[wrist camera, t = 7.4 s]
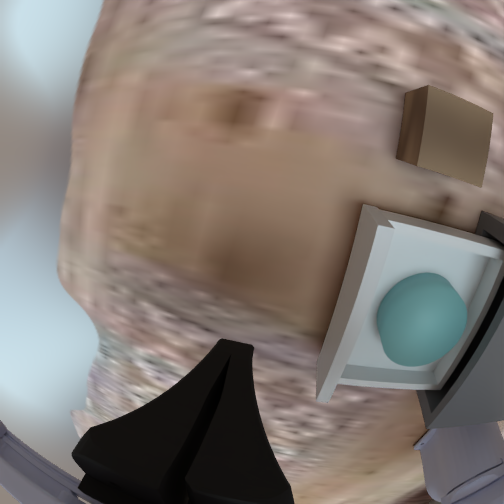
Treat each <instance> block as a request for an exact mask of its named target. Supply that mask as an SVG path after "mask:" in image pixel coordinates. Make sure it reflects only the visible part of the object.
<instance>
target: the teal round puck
mask: <svg viewBox="0 0 504 504" xmlns="http://www.w3.org/2000/svg"><path fill="white" fill-rule="evenodd" d="M466 323H467V308H466V305H465V303H464V301H463V300H462V298H461V297H460V295H459V294H458V293H457V291H456V290H455V289H454V287H453V286H452V285H451V284H450V282H449V281H448V280H447V279H445V278H444V277H443V276H441V275H438V274H435V273H418V274H415V275H412V276H409V277H407V278H405V279H403V280H401V281H400V282H398V283H397V284H396V285H395V286H393V287H392V288H391V289H390V290H389V291H388V293H387V294H386V295H385V296H384V298H383V300H382V301H381V303H380V306H379V308H378V312H377V327H378V331H379V335H380V338H381V342H382V346H383V350H384V352H385V354H386V355H387V357H388V358H389V359H390V360H391V361H393V362H394V363H396V364H398V365H402V366H407V367H416V366H422V365H426V364H429V363H432V362H434V361H436V360H438V359H439V358H441V357H443V356H444V355H445V354H447V353H448V352H449V351H450V350H451V349H452V348H453V347H454V346H455V345H456V344H457V342H458V341H459V339H460V338H461V336H462V334H463V332H464V330H465V327H466Z"/></svg>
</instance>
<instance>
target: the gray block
mask: <svg viewBox="0 0 504 504" xmlns="http://www.w3.org/2000/svg"><path fill="white" fill-rule="evenodd" d="M475 234H476V235H479V236H483V237H486V238H489V239H492V240H495V241H497V242H499V243H500V244H501V245H503V246H504V219H503V218H501V217H498V216H495V215H492V214H490V213H487V212H484V211H482V212H481V215H480V219H479V222H478V226H477V229H476V232H475ZM416 391H417V394H418V398H419V402H420V406H421V410H422V414H423V418H424V422H425V426H426V429H437V428H450V427H460V426H469V425H477V424H484V423H490V422H496V421H502V420H504V276H503V279H502V281H501V284H500V286H499V288H498V290H497V293H496V295H495V297H494V299H493V301H492V304H491V306H490V308H489V310H488V312H487V314H486V316H485V318H484V320H483V322H482V324H481V325H480V327H479V329H478V331H477V333H476V335H475V336H474V338H473V340H472V342H471V343H470V345H469V347H468V349H467V350H466V352H465V354H464V355H463V357H462V358H461V360H460V362H459V363H458V365H457V366H456V368H455V369H454V371H453V372H452V374H451V375H450V377H449V378H448V380H447V381H446V383H445V384H444V386H443V387H442V388H441V390H416Z"/></svg>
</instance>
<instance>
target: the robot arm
mask: <svg viewBox="0 0 504 504" xmlns="http://www.w3.org/2000/svg"><path fill="white" fill-rule="evenodd" d="M253 351H254V347H253V346H252V345H251V344H246V343H241V342H236V341H232V340H227V339H223V338H222V339H220V340H219V341H218V342H217V344H216V345H215V346H214V347H213V348H212V350H211V351H210V352H209V353H208V354H207V355H206V356H205V357H204V359H203V360H202V361H201V362H200V363H199V364H198V365H197V366H196V367H195V368H194V369H192V370H191V371H190V372H189V373H188V374H187V375H186V376H185V377H183V378H182V379H181V380H180V381H179V382H178V383H176V384H175V385H174V386H173V387H171V388H170V389H169V390H167V391H166V392H164V393H163V394H161V395H160V396H158V397H157V398H155V399H154V400H152V401H150V402H149V403H147V404H145V405H144V406H142V407H140V408H138V409H136V410H134V411H132V412H130V413H128V414H126V415H123V416H121V417H119V418H117V419H114V420H112V421H109V422H106V423H103V424H100V425H97V426H94V427H91V428H90V429H89V430H88V431H87V432H86V433H85V434H84V435H83V437H82V438H81V439H80V441H79V442H78V444H77V445H76V447H75V449H74V450H73V452H72V457H73V459H74V460H75V462H76V463H77V464H78V465H79V467H80V468H81V469H82V470H83V471H84V472H85V473H86V474H85V475H84V477H83V479H82V481H80V480H79V479H77V478H75V477H73V476H71V475H70V474H68V473H67V472H65V471H63V470H62V469H60V468H59V467H57V466H56V465H54V464H53V463H51V462H50V461H48V460H47V459H45V458H44V457H42V456H41V455H40V454H38V453H37V452H35V451H34V450H33V449H31V448H30V447H29V446H27V445H26V444H24V443H23V442H22V441H21V440H20V439H18V438H17V437H16V436H15V435H13V434H12V433H11V432H10V431H8V430H7V428H6V427H5V425H4V424H3V423H2V422H1V420H0V485H1V486H2V487H3V488H4V489H5V490H6V491H7V492H8V493H10V494H11V495H12V496H13V497H14V498H15V499H16V500H17V501H18V502H19V503H21V504H85V503H84V502H82V501H80V500H79V499H78V497H80V498H82V499H84V500H86V501H87V502H89V503H91V504H294V499H293V494H292V490H291V486H290V484H289V482H288V481H287V479H286V477H285V476H284V474H283V472H282V470H281V468H280V466H279V464H278V462H277V460H276V458H275V456H274V453H273V451H272V449H271V446H270V444H269V441H268V439H267V436H266V433H265V430H264V427H263V424H262V421H261V417H260V413H259V409H258V405H257V400H256V395H255V389H254V381H253V371H252V357H253ZM414 450H420V453H421V459H422V465H423V471H424V478H425V485H426V489H427V492H428V494H429V495H430V496H431V498H432V499H434V500H435V501H438V502H441V504H504V440H503V437H502V434H501V431H500V429H499V426H498V423H497V421H496V422H490V423H484V424H477V425H469V426H460V427H450V428H437V429H430V430H429V431H428V432H427V433H426V434H425V435H424V436H423V437H422V438H421V439H420V440H419V441H418V443H417V444H416V445H415V446H414ZM77 496H78V497H77Z"/></svg>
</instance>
